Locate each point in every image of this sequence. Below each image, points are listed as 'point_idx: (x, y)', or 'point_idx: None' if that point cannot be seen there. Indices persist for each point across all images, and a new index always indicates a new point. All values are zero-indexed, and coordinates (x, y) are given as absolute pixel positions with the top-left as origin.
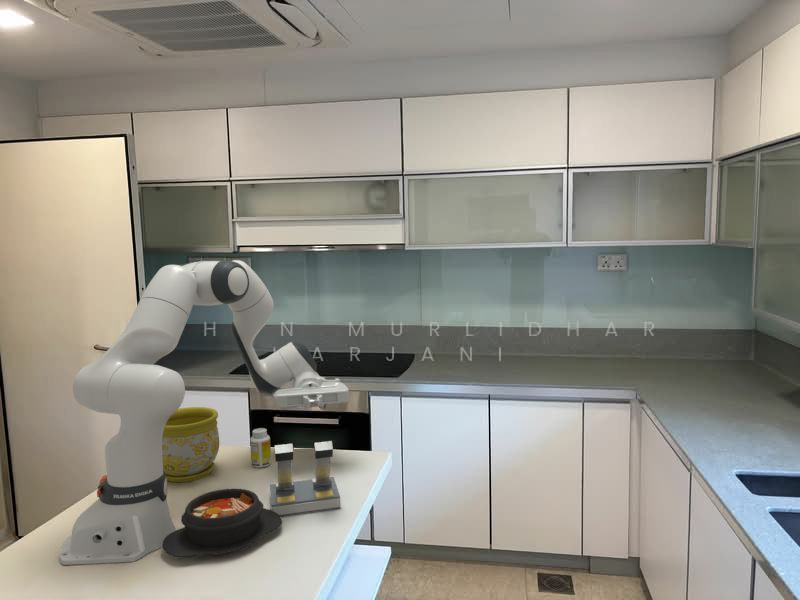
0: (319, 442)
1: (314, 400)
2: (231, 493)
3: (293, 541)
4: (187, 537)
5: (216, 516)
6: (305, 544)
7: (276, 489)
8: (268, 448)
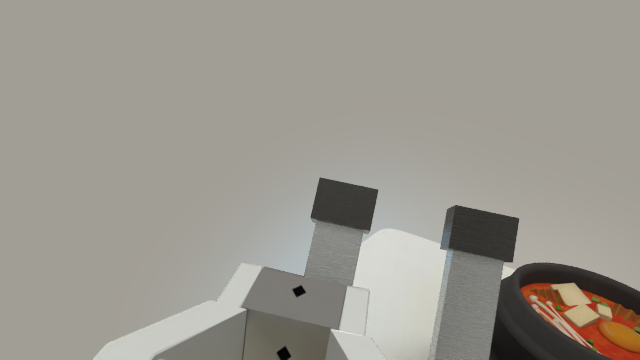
0: (361, 186)
1: (299, 275)
2: None
3: (408, 312)
4: None
5: (597, 309)
6: (386, 296)
7: None
8: None
